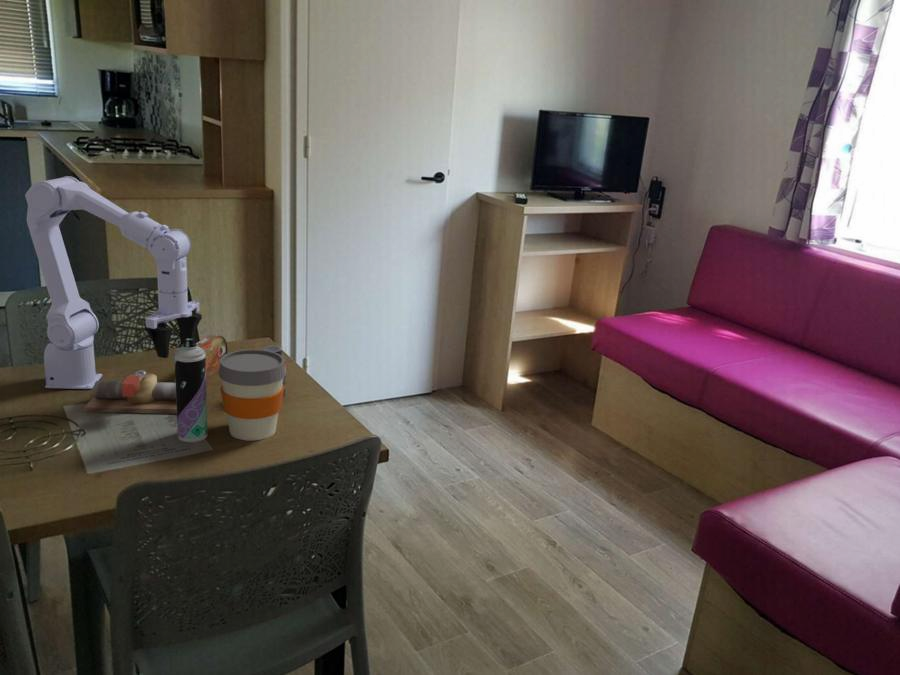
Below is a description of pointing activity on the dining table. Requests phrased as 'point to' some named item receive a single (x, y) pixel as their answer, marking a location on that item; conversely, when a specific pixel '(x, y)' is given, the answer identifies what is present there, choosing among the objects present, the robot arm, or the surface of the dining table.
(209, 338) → the tin
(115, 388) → the valve stand
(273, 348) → the supplement bottle
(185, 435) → the spray can
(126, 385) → the valve lever
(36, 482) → the dining table surface
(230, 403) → the reusable coffee cup
